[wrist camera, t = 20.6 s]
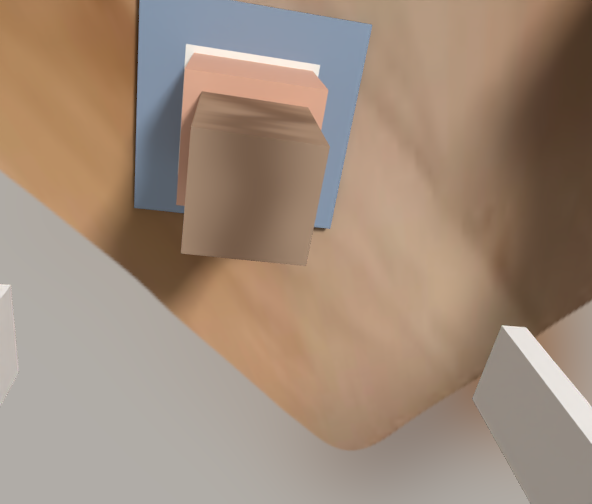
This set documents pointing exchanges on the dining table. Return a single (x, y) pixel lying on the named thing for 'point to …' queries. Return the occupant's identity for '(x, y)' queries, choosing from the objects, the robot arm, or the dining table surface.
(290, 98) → the terracotta base
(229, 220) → the walnut column
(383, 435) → the dining table surface
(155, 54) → the board
